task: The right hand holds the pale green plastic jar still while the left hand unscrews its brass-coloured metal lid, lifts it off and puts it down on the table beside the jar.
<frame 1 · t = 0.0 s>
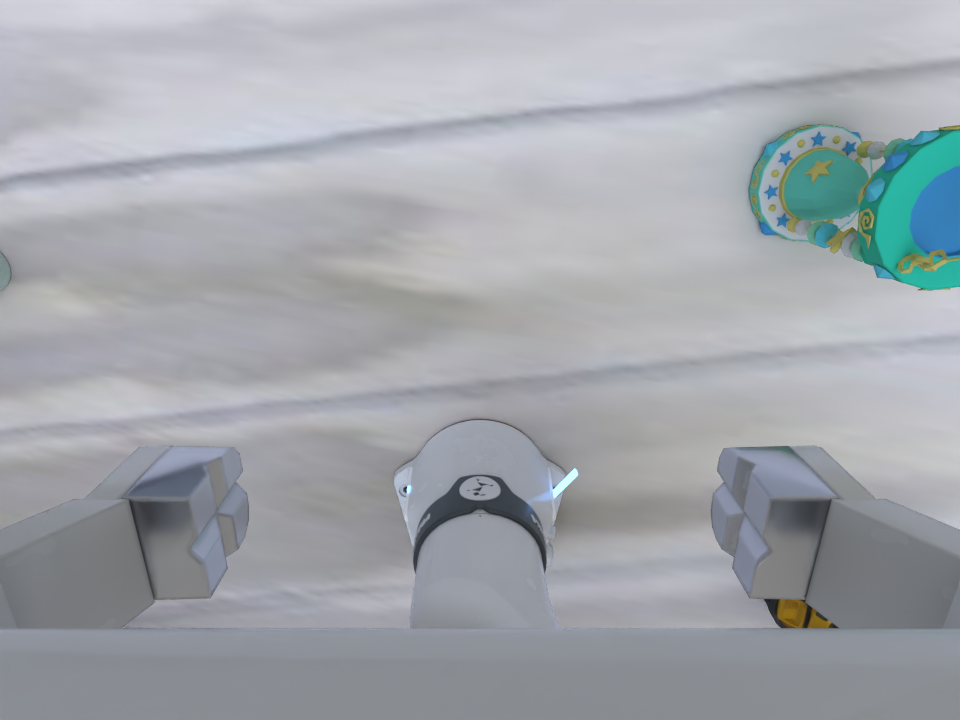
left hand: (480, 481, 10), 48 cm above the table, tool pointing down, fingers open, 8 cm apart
power drill: (791, 577, 71), on the table
decorative hourglass: (802, 183, 55), on the table
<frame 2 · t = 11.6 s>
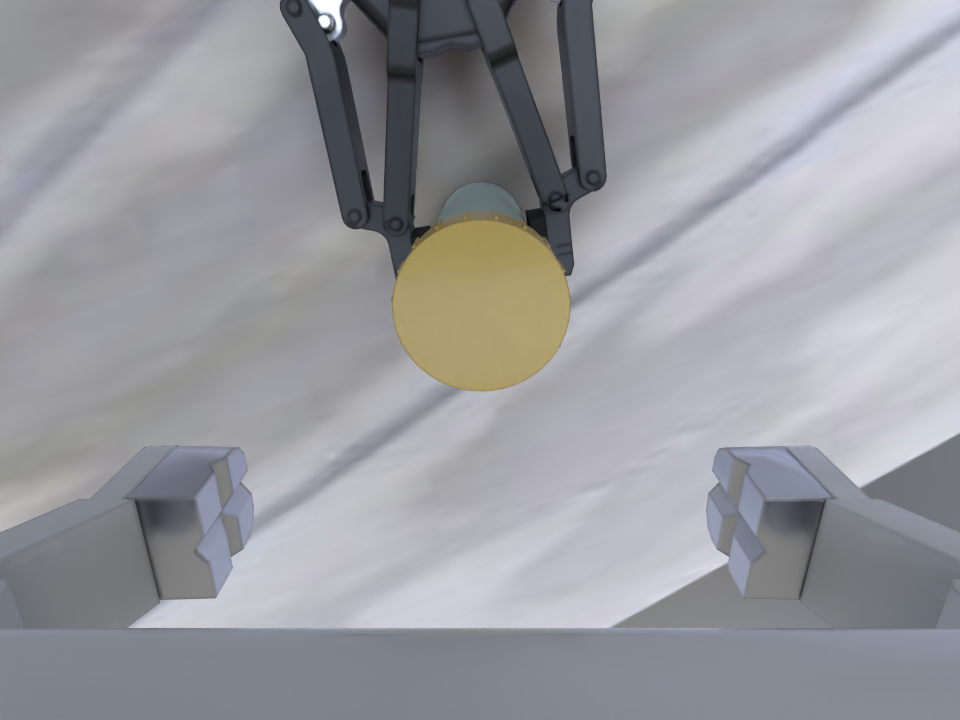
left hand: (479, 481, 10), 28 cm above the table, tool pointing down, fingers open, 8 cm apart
right hand: (496, 345, 31), fingers closed on jar, 5 cm apart
jar: (481, 224, 36), on the table, touching right hand
lid: (481, 307, 20), point 17 cm above the table, screwed on, not yet turned
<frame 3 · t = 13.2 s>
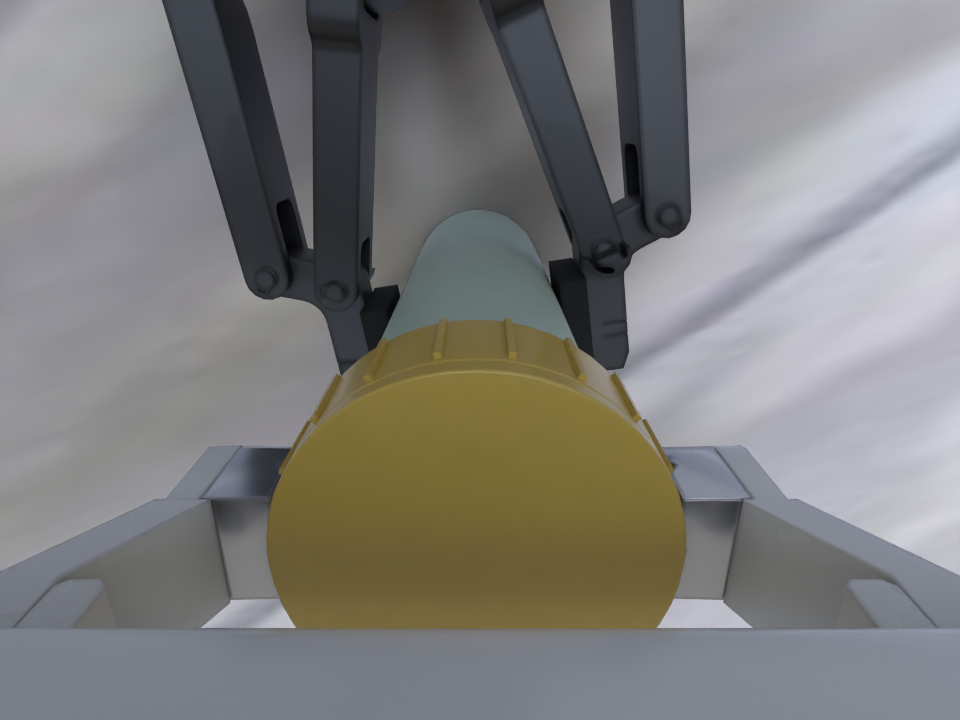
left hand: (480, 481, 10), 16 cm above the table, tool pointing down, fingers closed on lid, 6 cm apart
jar: (478, 270, 25), on the table, touching right hand
lid: (476, 546, 9), point 17 cm above the table, screwed on, not yet turned, touching left hand
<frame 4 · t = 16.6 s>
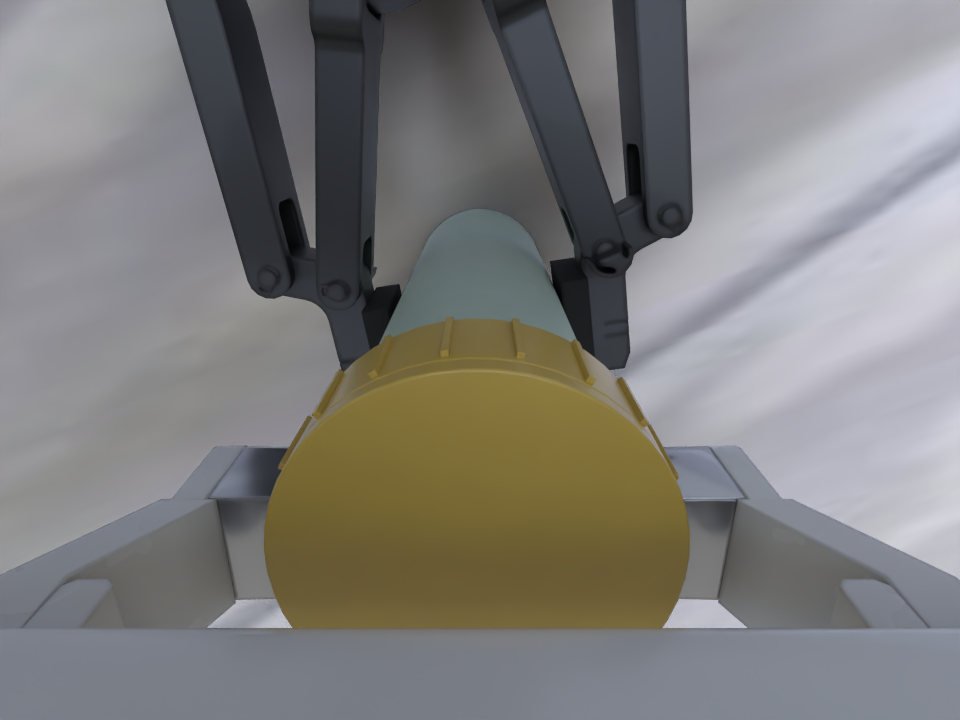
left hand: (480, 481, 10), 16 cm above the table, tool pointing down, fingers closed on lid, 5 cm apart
jar: (480, 269, 25), on the table, touching right hand
lid: (476, 548, 9), point 17 cm above the table, turned 93° so far, risen 0.1 cm, still on its thread, touching left hand
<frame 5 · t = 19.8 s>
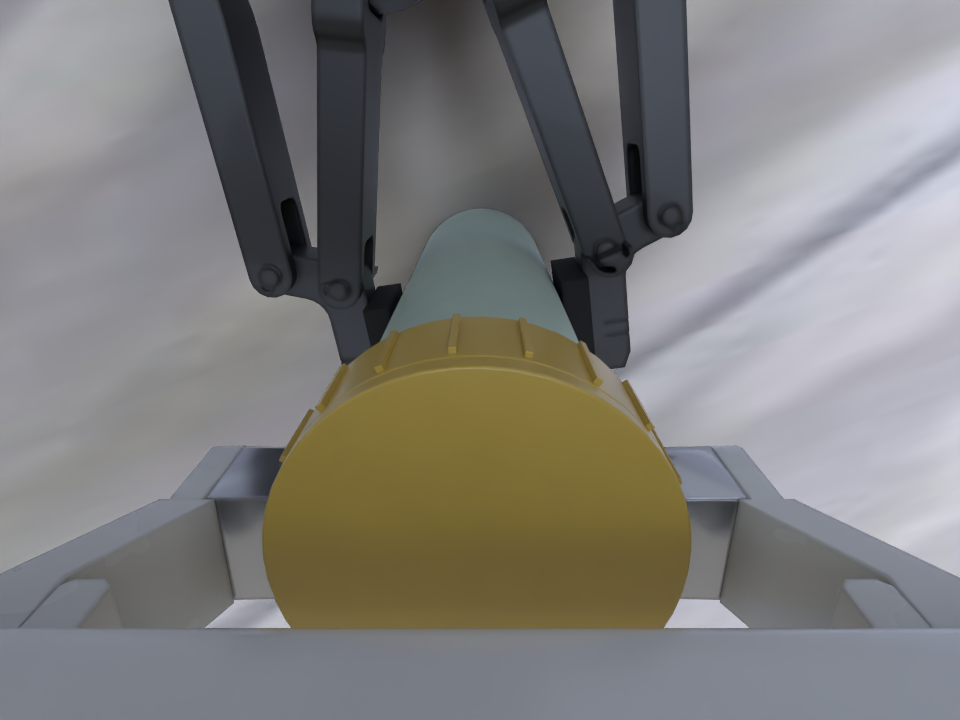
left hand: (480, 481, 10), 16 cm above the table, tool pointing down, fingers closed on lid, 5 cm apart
jar: (481, 268, 25), on the table, touching right hand
lid: (476, 547, 8), point 18 cm above the table, turned 186° so far, risen 0.2 cm, still on its thread, touching left hand
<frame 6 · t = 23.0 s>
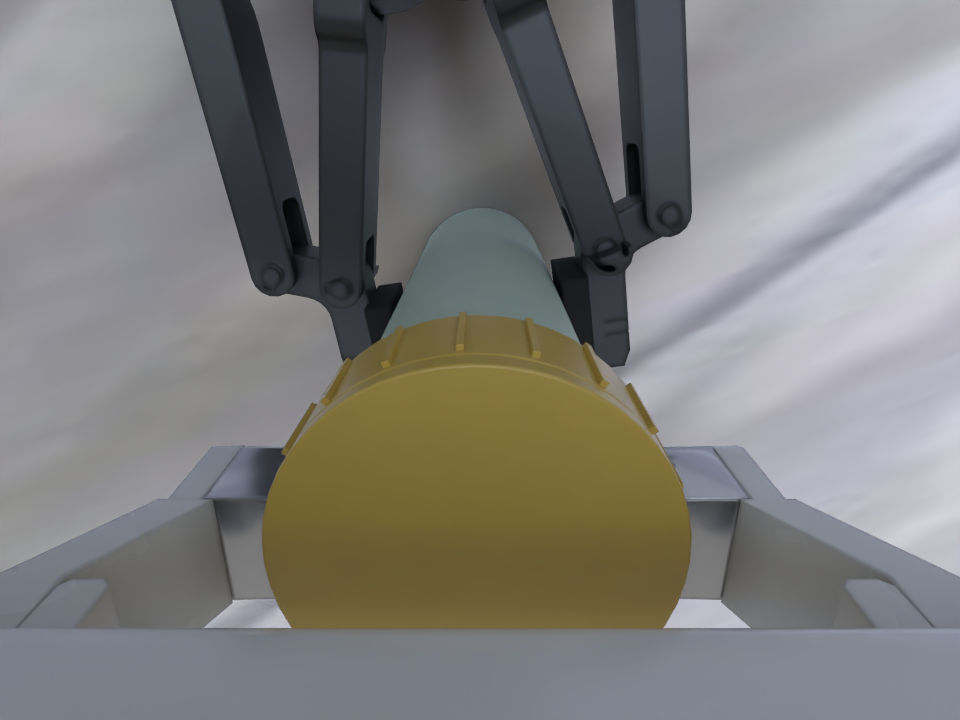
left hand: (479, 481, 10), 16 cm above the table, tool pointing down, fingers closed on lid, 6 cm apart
right hand: (504, 464, 21), fingers closed on jar, 5 cm apart
jar: (481, 267, 25), on the table, touching right hand
lid: (476, 546, 8), point 18 cm above the table, turned 278° so far, risen 0.4 cm, still on its thread, touching left hand
when the left hand's fingers open (2 cm above the table, at t = 35.9 s): lid drops 2 cm, point 2 cm above the table.
when the right hand's fingers open (7 cm above the table, at t = 36.7 s): jar stays where it is, on the table.
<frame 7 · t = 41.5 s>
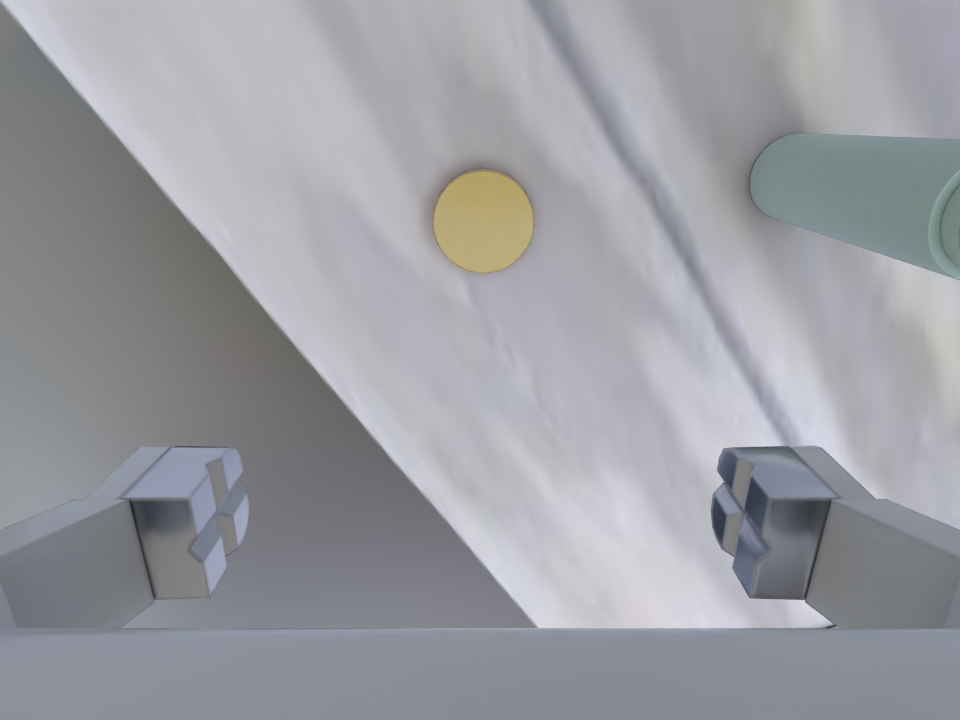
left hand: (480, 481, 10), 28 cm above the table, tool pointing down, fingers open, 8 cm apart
jar: (791, 177, 36), on the table
lid: (483, 222, 35), point 2 cm above the table, off its thread
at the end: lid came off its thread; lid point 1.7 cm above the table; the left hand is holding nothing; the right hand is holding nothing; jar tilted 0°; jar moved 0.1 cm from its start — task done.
